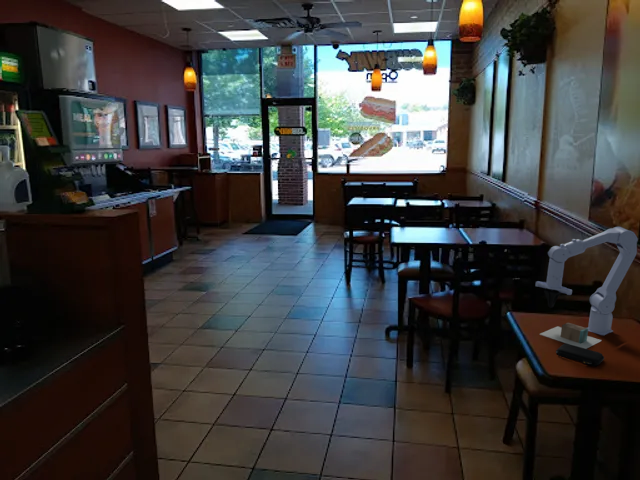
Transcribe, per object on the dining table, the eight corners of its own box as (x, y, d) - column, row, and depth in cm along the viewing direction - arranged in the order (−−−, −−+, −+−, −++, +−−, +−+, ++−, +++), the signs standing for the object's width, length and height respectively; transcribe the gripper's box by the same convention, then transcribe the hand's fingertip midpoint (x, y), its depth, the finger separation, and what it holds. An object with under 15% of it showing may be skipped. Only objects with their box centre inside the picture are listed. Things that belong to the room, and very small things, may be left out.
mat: (557, 327, 214) (557, 326, 214) (601, 341, 201) (602, 340, 200) (539, 335, 205) (539, 334, 205) (584, 350, 191) (584, 349, 191)
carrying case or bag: (552, 357, 186) (596, 370, 176) (553, 349, 185) (598, 362, 176) (562, 348, 194) (604, 360, 184) (563, 341, 193) (606, 353, 184)
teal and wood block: (568, 322, 205) (588, 328, 199) (566, 334, 206) (586, 340, 200) (562, 325, 202) (582, 331, 196) (560, 336, 203) (580, 343, 197)
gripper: (533, 272, 212) (529, 303, 214) (567, 281, 201) (563, 313, 203) (541, 270, 216) (538, 300, 219) (576, 278, 205) (571, 310, 208)
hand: (550, 306), depth 211 cm, fingers closed
